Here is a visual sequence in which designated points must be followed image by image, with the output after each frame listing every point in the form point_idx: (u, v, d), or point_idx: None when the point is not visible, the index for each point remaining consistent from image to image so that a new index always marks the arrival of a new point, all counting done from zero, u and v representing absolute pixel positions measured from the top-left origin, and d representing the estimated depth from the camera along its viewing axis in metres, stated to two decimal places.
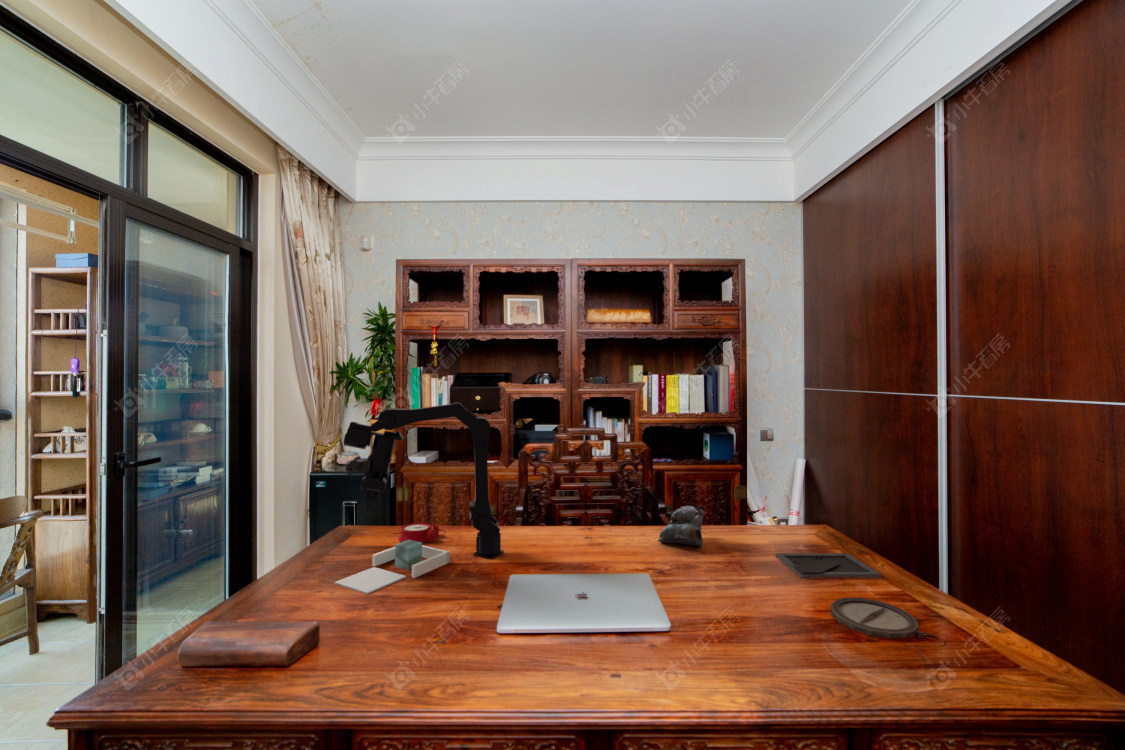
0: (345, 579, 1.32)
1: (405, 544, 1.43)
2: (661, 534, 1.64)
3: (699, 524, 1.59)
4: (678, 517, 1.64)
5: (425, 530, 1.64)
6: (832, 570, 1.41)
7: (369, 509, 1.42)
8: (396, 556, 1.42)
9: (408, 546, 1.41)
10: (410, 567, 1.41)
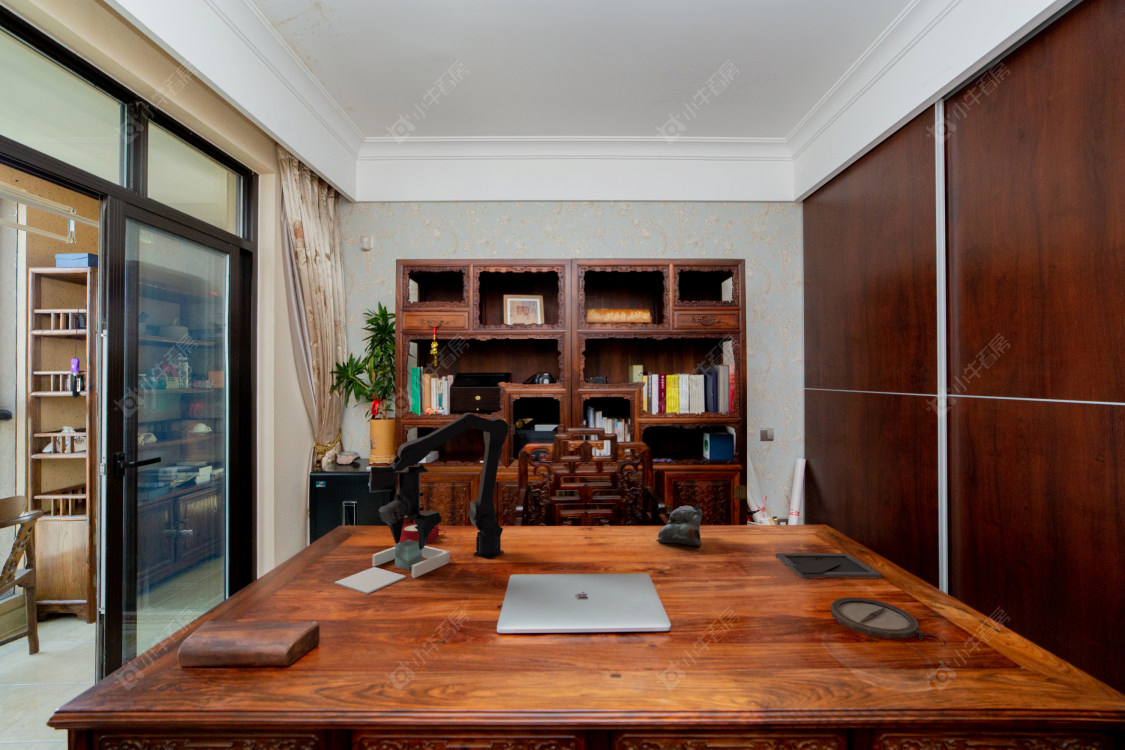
0: (345, 579, 1.32)
1: (405, 544, 1.43)
2: (659, 534, 1.64)
3: (698, 524, 1.59)
4: (676, 517, 1.64)
5: None
6: (832, 570, 1.41)
7: (423, 545, 1.41)
8: (396, 556, 1.42)
9: (408, 546, 1.41)
10: (410, 567, 1.41)
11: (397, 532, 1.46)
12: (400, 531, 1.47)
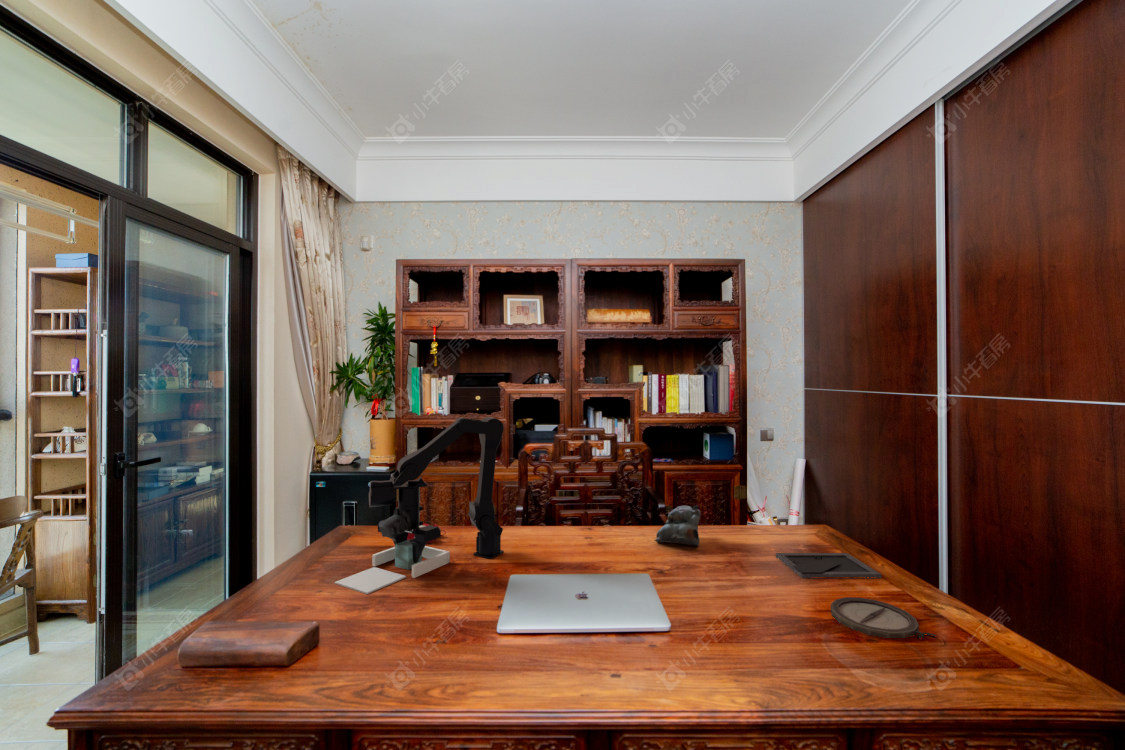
0: (345, 579, 1.32)
1: (405, 544, 1.43)
2: (658, 534, 1.64)
3: (696, 524, 1.59)
4: (675, 517, 1.64)
5: None
6: (832, 570, 1.41)
7: (418, 559, 1.42)
8: (396, 556, 1.42)
9: (408, 546, 1.41)
10: (410, 567, 1.41)
11: None
12: None
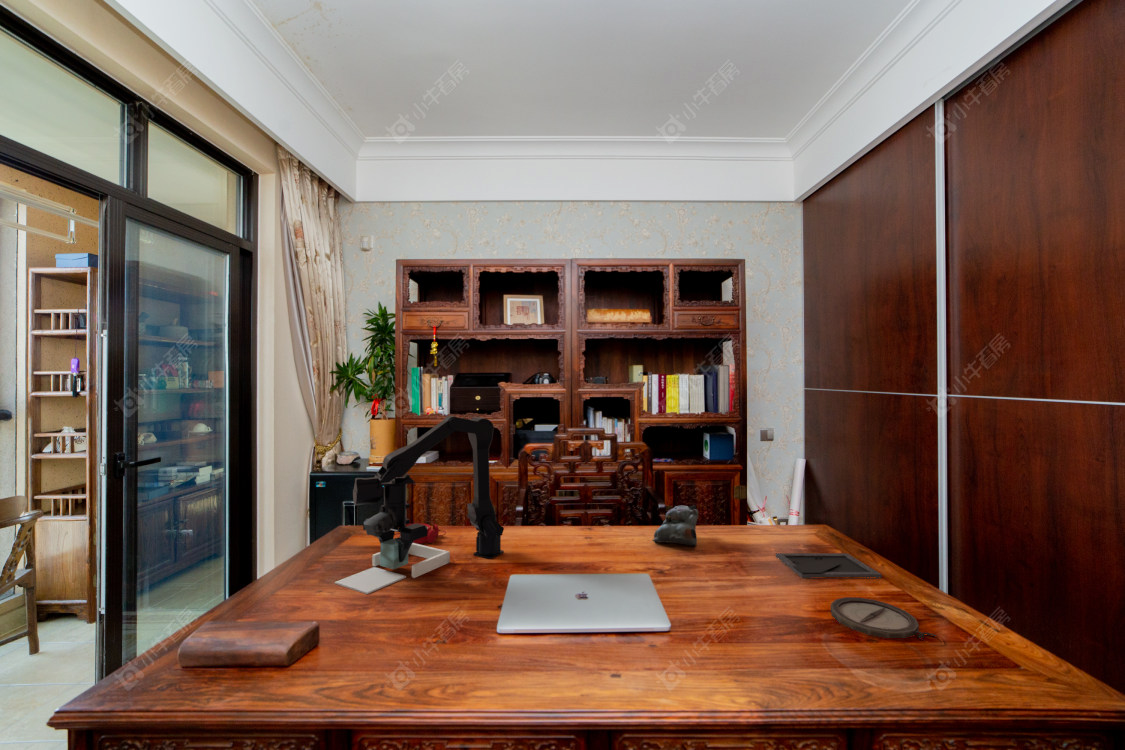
0: (345, 579, 1.32)
1: (391, 542, 1.39)
2: (655, 534, 1.64)
3: (694, 523, 1.59)
4: (672, 517, 1.64)
5: None
6: (832, 570, 1.41)
7: (404, 558, 1.38)
8: (381, 555, 1.38)
9: (394, 544, 1.37)
10: (396, 566, 1.37)
11: None
12: None
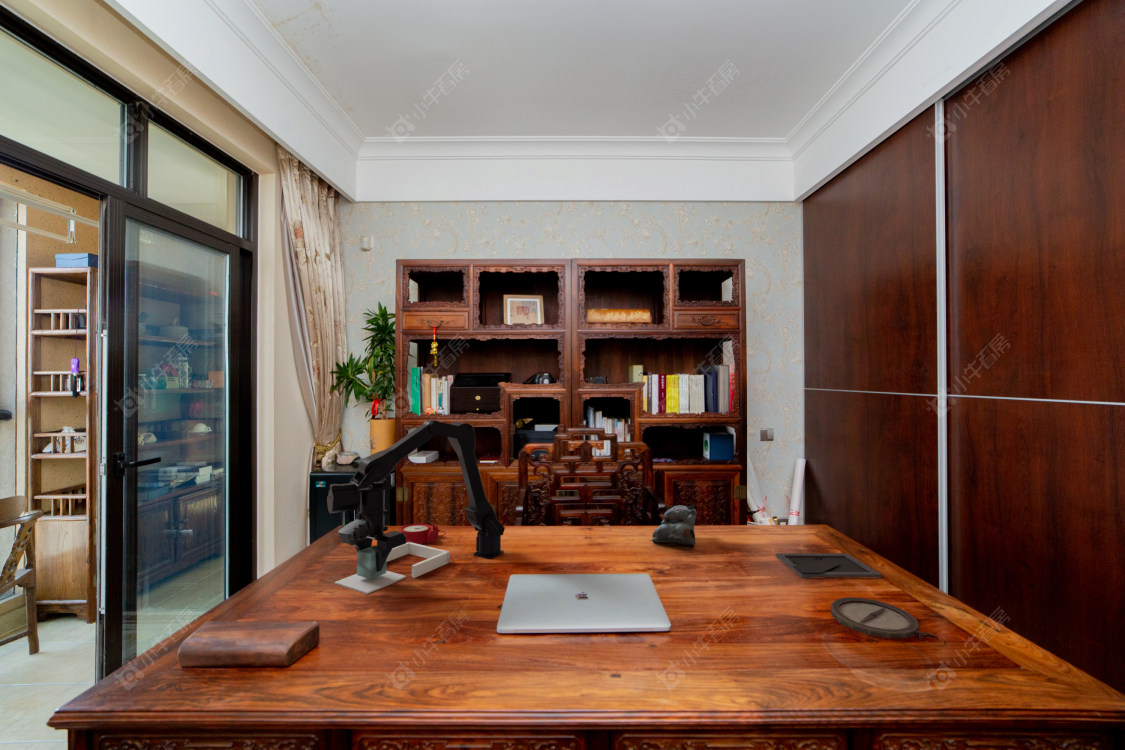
0: (345, 579, 1.32)
1: (368, 550, 1.32)
2: (654, 534, 1.64)
3: (692, 523, 1.60)
4: (671, 517, 1.64)
5: (425, 531, 1.63)
6: (832, 570, 1.41)
7: (381, 567, 1.32)
8: (358, 564, 1.32)
9: (371, 553, 1.31)
10: (373, 576, 1.30)
11: None
12: None
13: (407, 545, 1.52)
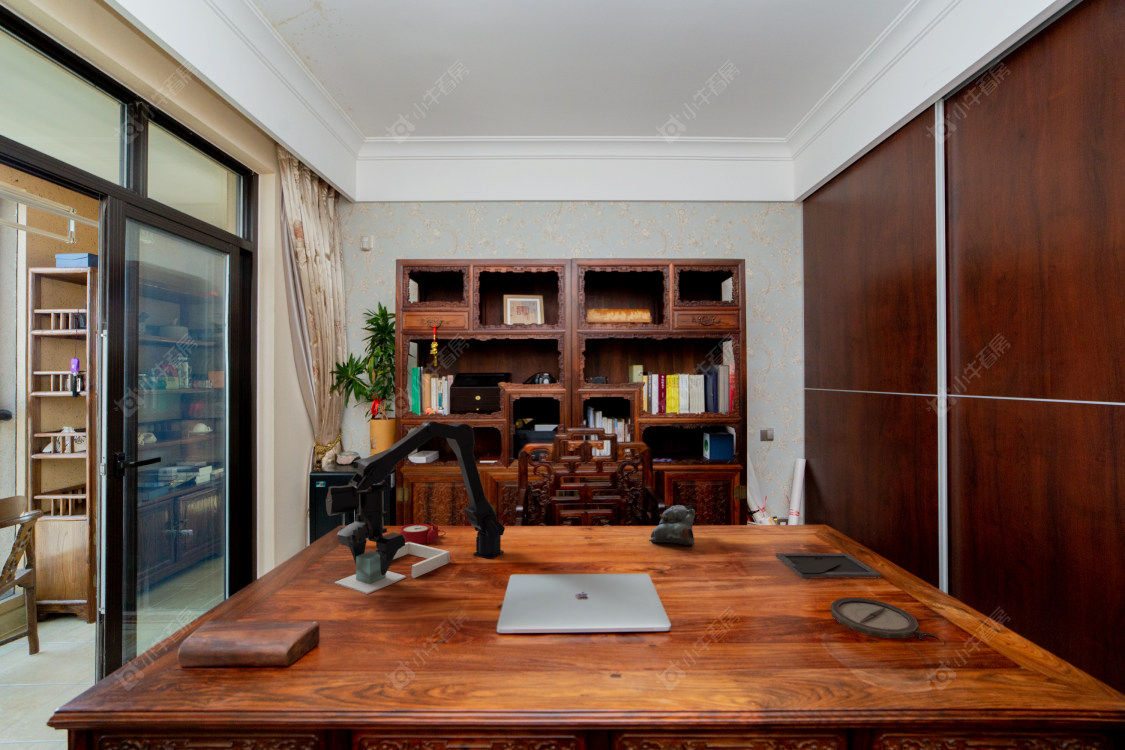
0: (345, 579, 1.32)
1: (367, 555, 1.32)
2: (652, 534, 1.64)
3: (691, 523, 1.60)
4: (669, 517, 1.64)
5: (425, 531, 1.63)
6: (832, 570, 1.41)
7: (386, 570, 1.31)
8: (357, 569, 1.32)
9: (370, 558, 1.30)
10: (372, 581, 1.30)
11: None
12: None
13: (407, 545, 1.52)
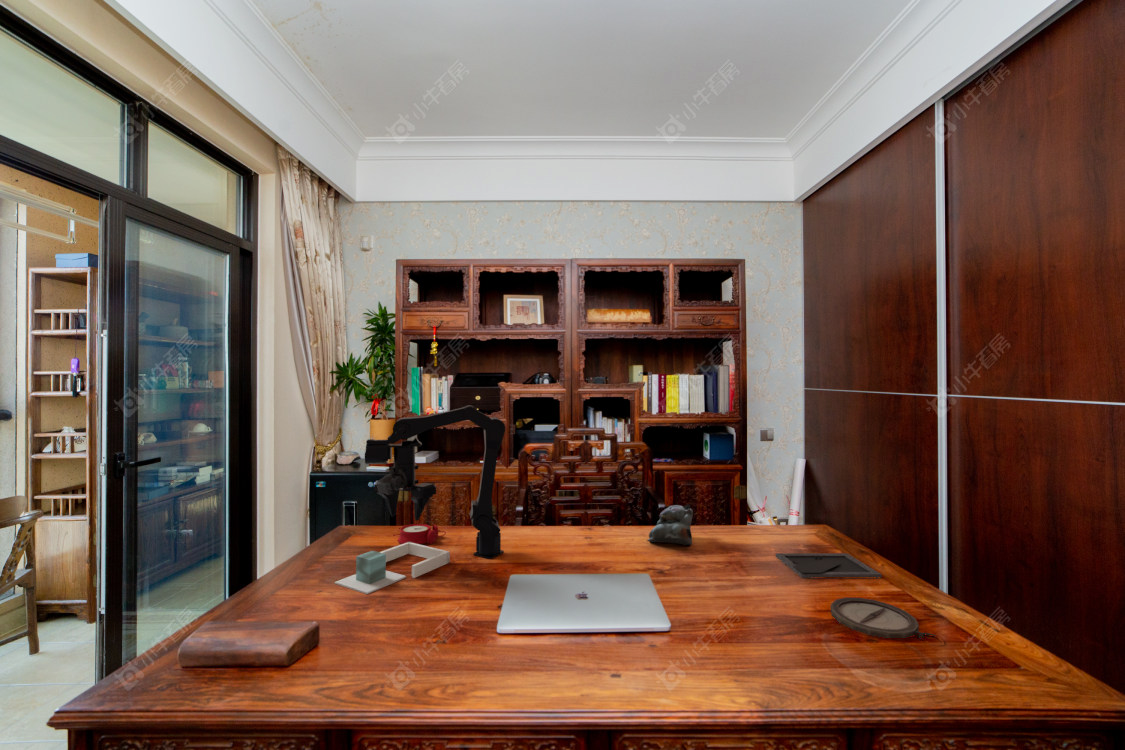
0: (345, 579, 1.32)
1: (367, 555, 1.32)
2: (651, 534, 1.64)
3: (689, 523, 1.60)
4: (667, 517, 1.64)
5: (425, 531, 1.62)
6: (832, 570, 1.41)
7: (419, 516, 1.46)
8: (357, 569, 1.32)
9: (370, 558, 1.30)
10: (372, 581, 1.30)
11: (393, 505, 1.50)
12: (396, 504, 1.51)
13: (407, 545, 1.52)
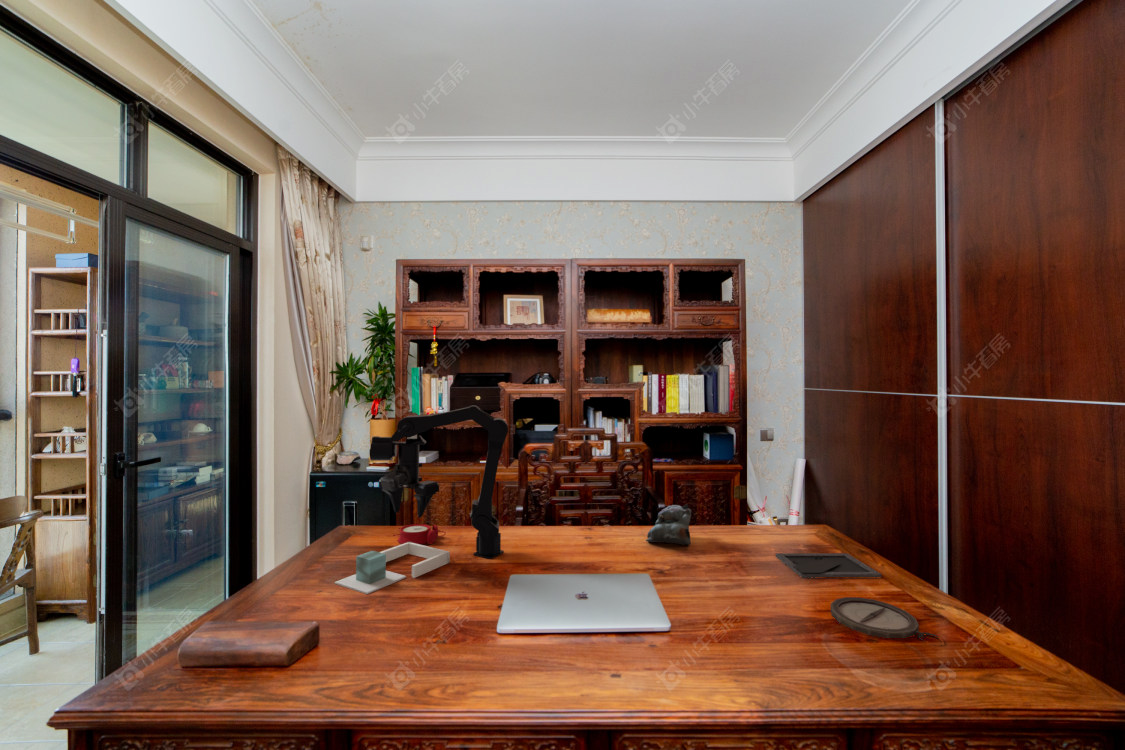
0: (345, 579, 1.32)
1: (367, 555, 1.32)
2: (649, 534, 1.64)
3: (687, 523, 1.60)
4: (665, 516, 1.64)
5: (425, 531, 1.62)
6: (832, 570, 1.41)
7: (422, 513, 1.48)
8: (357, 569, 1.32)
9: (370, 558, 1.30)
10: (372, 581, 1.30)
11: (397, 502, 1.52)
12: (400, 501, 1.53)
13: (407, 545, 1.52)
